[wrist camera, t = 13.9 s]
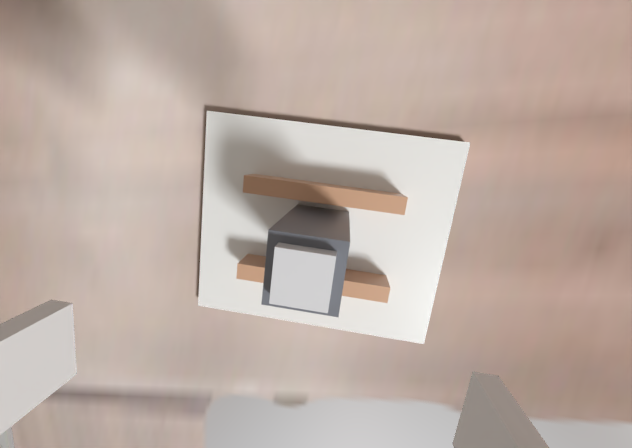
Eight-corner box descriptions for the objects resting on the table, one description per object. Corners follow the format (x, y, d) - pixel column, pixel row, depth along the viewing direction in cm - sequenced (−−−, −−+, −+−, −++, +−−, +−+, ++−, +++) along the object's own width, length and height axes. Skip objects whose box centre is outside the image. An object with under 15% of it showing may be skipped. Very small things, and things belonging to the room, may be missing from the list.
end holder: (211, 112, 29) (190, 104, 25) (465, 143, 27) (485, 140, 23) (202, 301, 33) (183, 319, 29) (421, 338, 32) (431, 363, 28)
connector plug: (297, 204, 29) (264, 233, 17) (349, 211, 29) (350, 246, 17) (292, 253, 30) (256, 312, 18) (341, 261, 30) (337, 325, 18)
